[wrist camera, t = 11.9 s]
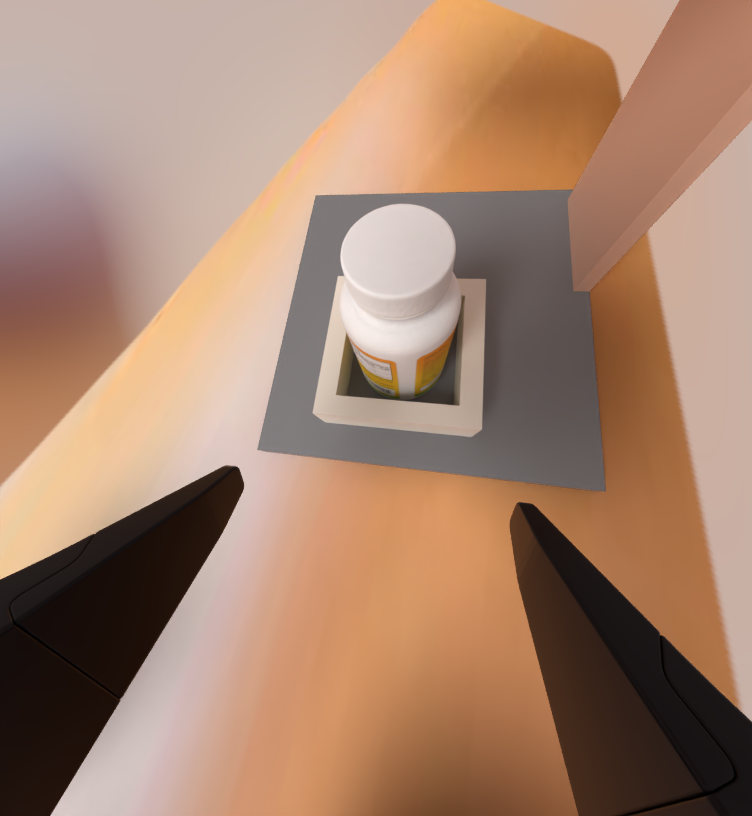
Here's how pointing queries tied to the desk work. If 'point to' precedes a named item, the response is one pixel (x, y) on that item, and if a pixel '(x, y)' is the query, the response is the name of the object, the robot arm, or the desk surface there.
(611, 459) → the desk surface
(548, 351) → the awning socket
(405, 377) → the supplement bottle
